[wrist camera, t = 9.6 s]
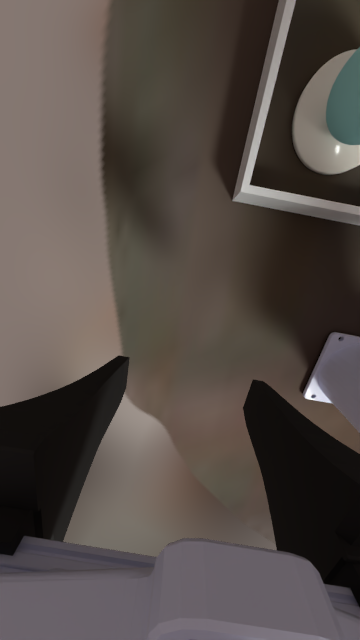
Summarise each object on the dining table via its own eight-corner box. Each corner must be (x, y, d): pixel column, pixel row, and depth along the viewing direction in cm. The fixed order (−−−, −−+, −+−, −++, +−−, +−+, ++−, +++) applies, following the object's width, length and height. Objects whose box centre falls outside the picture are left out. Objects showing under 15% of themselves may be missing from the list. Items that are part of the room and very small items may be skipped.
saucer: (411, 66, 14) (418, 60, 14) (364, 182, 17) (369, 180, 16) (313, 45, 14) (317, 39, 14) (278, 165, 17) (281, 163, 16)
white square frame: (481, 14, 13) (559, -48, 11) (381, 230, 18) (418, 226, 15) (285, -29, 13) (311, -104, 10) (232, 200, 18) (240, 191, 15)
